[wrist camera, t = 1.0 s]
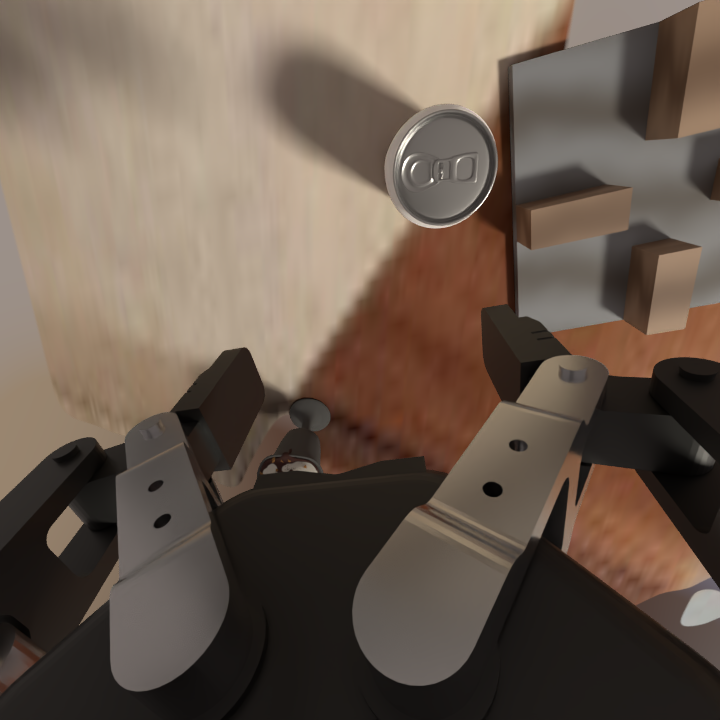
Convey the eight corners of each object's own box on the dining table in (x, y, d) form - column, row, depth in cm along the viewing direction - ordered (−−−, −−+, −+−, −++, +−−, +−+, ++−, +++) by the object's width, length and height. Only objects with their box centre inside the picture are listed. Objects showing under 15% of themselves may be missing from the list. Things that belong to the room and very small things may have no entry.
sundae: (336, 392, 42) (315, 499, 28) (337, 437, 45) (319, 551, 32) (280, 390, 42) (233, 494, 29) (285, 434, 45) (245, 546, 32)
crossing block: (508, 67, 27) (530, 52, 23) (864, -36, 23) (963, -76, 19) (516, 333, 37) (532, 354, 33) (763, 289, 33) (815, 306, 29)
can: (382, 125, 29) (381, 105, 18) (465, 116, 28) (513, 91, 18) (386, 211, 32) (387, 237, 21) (460, 205, 31) (499, 229, 21)
